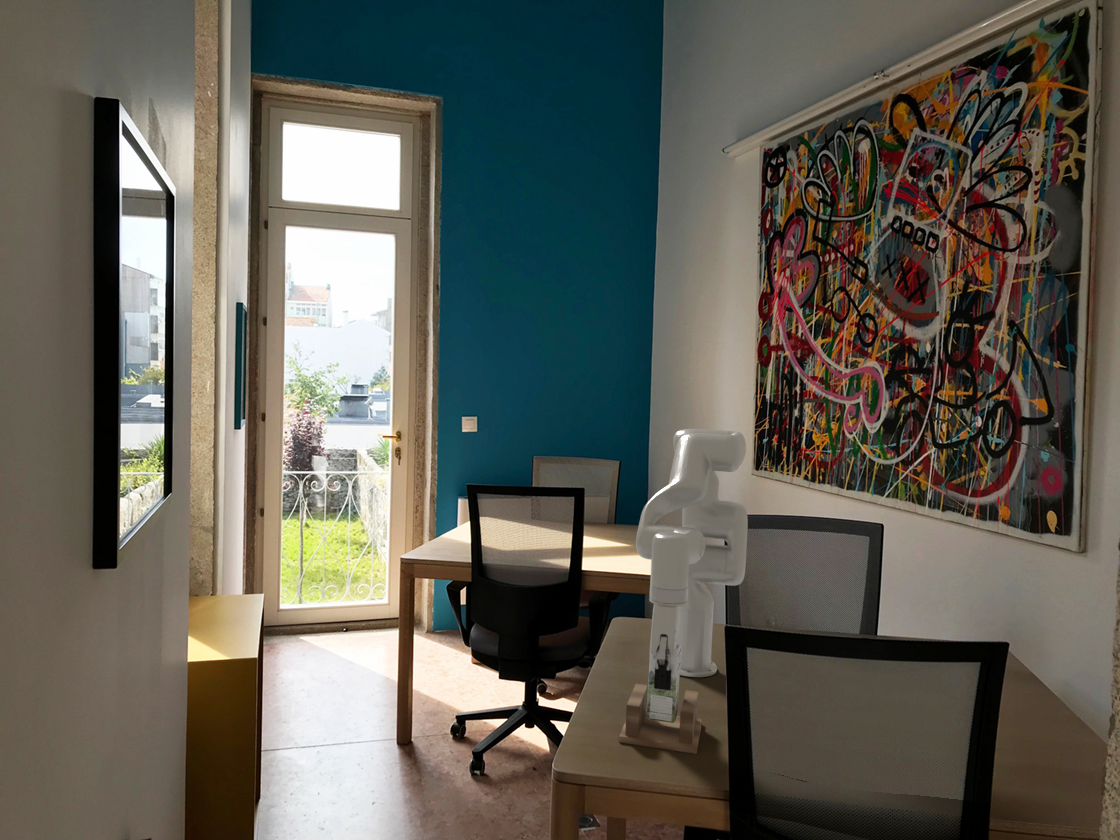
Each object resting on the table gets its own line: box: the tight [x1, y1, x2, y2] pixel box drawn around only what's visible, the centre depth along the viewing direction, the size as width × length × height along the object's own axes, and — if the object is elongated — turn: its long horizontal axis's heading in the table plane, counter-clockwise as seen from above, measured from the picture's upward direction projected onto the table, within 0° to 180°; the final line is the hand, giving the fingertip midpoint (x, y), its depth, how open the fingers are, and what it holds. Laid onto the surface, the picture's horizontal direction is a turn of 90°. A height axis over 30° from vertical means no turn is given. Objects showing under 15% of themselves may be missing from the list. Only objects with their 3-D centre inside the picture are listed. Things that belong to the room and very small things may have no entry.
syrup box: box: [646, 644, 681, 723], centre depth 163 cm, size 6×6×14 cm
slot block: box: [618, 683, 703, 755], centre depth 163 cm, size 14×15×7 cm
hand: (664, 682), depth 163 cm, fingers closed on syrup box, 5 cm apart
